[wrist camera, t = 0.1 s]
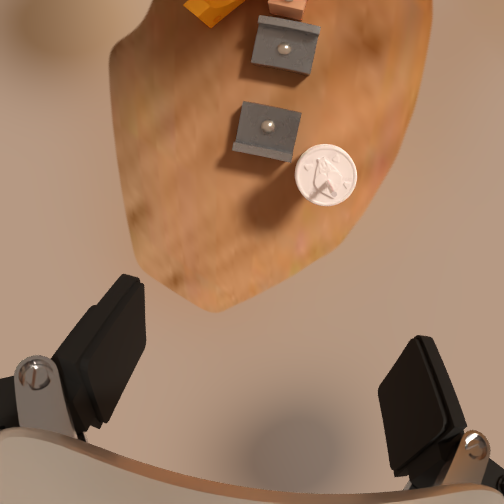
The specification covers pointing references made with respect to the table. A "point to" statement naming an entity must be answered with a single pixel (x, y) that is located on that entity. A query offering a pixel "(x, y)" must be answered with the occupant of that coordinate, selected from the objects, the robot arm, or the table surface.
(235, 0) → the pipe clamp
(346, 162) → the pink drink cup
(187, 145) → the table surface
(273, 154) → the book ends
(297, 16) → the peach two-stud bar
